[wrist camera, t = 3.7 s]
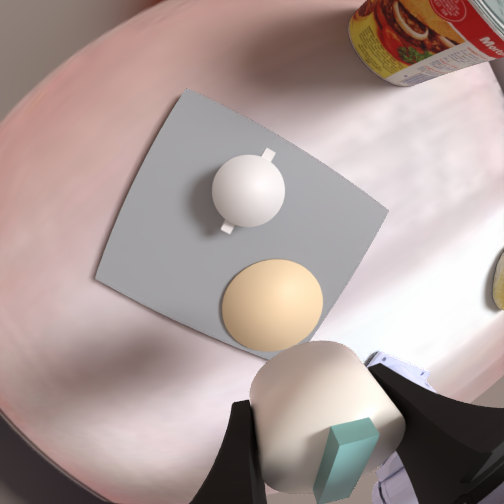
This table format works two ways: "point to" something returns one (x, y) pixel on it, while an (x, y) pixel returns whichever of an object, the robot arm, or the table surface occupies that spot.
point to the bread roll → (499, 284)
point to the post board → (237, 231)
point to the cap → (321, 421)
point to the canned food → (426, 37)
